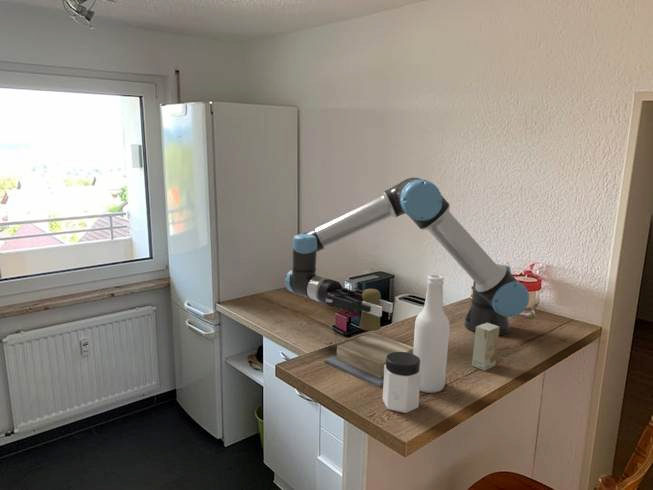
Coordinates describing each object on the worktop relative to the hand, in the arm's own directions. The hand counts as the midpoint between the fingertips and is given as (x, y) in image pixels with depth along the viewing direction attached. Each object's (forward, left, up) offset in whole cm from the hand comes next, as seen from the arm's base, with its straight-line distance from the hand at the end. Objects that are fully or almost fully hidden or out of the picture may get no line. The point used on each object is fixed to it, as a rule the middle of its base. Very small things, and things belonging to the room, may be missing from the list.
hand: (386, 309), depth 135 cm
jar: (+11, +14, -18) cm, 25 cm away
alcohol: (-2, +13, -18) cm, 23 cm away
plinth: (-3, -5, -18) cm, 19 cm away
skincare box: (-25, +18, -18) cm, 36 cm away
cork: (0, -5, -7) cm, 9 cm away
